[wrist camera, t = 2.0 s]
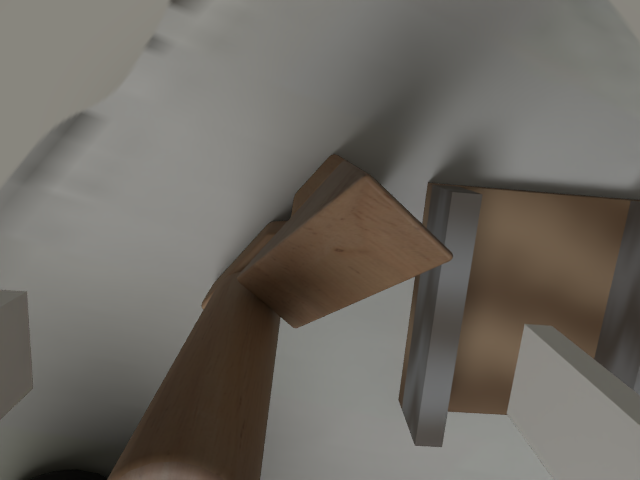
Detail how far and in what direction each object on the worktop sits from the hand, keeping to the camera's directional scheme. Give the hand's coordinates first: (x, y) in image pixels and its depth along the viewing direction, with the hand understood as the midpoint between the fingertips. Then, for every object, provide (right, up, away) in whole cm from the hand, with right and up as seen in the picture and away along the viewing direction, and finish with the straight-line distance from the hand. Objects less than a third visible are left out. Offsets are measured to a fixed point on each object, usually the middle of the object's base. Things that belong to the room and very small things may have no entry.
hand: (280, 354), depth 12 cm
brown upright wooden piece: (0, +3, +15) cm, 16 cm away
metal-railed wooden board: (+13, -1, +16) cm, 21 cm away
